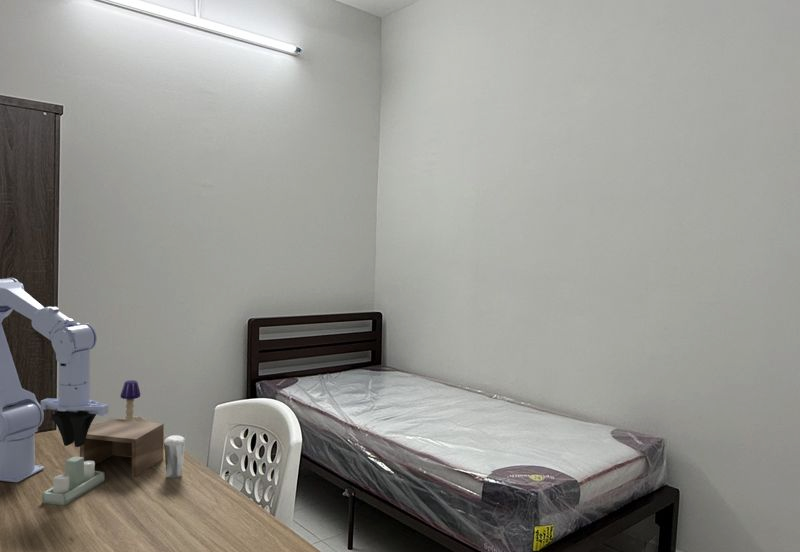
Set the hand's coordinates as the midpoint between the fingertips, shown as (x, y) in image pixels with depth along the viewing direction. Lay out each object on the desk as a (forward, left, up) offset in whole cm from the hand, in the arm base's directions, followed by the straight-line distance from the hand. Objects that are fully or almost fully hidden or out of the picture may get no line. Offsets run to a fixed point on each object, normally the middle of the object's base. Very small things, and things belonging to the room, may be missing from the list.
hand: (74, 444), depth 123 cm
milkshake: (+17, +11, -10) cm, 23 cm away
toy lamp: (-4, +25, -10) cm, 27 cm away
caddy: (+1, -1, -10) cm, 10 cm away
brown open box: (+2, +14, -10) cm, 17 cm away
